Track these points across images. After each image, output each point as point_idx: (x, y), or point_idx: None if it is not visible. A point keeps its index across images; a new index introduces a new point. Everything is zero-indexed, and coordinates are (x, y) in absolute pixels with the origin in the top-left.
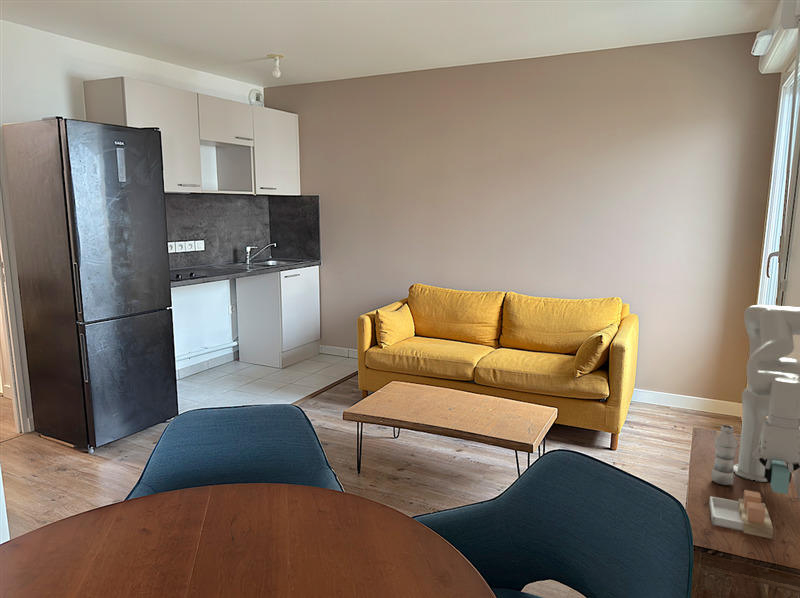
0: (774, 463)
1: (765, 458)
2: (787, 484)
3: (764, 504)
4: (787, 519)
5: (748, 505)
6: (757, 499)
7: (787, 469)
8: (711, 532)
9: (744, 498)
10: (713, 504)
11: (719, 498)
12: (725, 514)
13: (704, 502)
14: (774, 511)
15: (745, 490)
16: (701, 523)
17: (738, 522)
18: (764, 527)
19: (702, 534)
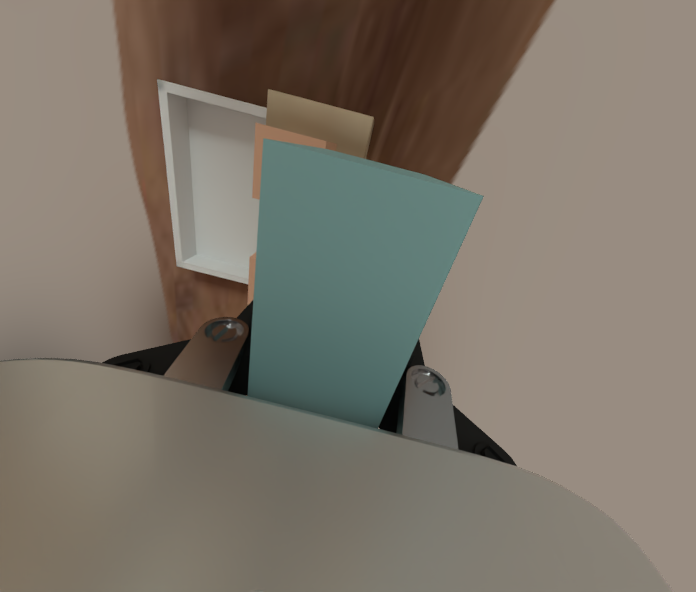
0: (277, 393)
1: (168, 374)
2: None
3: (367, 130)
4: (442, 162)
5: (248, 291)
6: None
7: None
8: (192, 296)
9: None
10: (193, 105)
11: (194, 97)
12: (229, 189)
13: (164, 80)
14: (426, 91)
15: (261, 130)
16: (167, 255)
17: (245, 282)
18: None
19: (173, 308)
